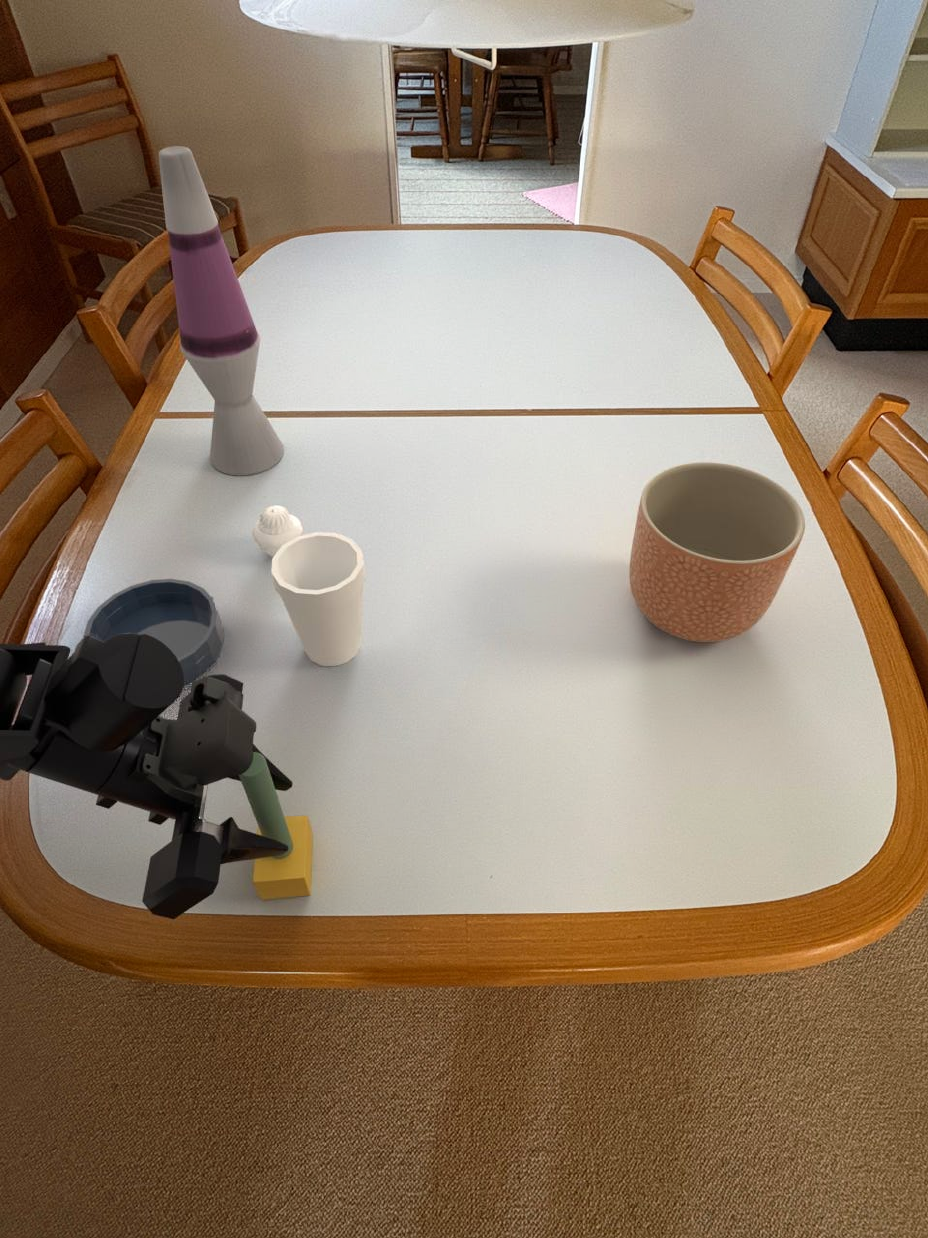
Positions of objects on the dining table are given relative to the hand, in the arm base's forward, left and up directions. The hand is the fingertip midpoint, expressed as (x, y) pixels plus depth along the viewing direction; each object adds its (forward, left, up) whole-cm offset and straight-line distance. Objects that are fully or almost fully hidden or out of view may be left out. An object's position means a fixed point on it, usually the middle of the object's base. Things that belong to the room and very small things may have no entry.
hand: (287, 818), depth 66 cm
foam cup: (+11, +24, -9) cm, 28 cm away
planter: (+52, +12, -9) cm, 54 cm away
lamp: (+11, +65, -9) cm, 67 cm away
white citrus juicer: (+10, +42, -9) cm, 44 cm away
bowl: (-7, +32, -9) cm, 34 cm away
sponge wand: (-1, 0, -9) cm, 9 cm away
